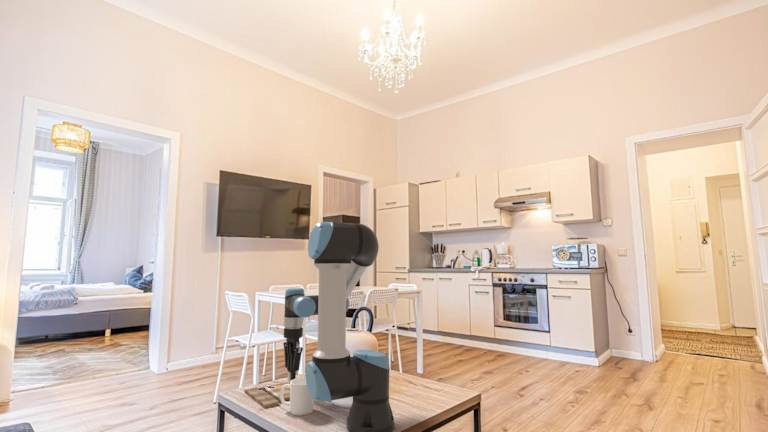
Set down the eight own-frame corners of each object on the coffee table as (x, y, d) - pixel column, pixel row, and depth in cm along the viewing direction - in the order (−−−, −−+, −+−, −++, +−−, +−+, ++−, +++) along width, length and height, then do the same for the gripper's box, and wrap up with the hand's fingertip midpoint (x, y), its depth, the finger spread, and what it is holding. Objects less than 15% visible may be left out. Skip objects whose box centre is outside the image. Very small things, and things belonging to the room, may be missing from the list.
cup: (310, 416, 133) (311, 385, 134) (275, 415, 134) (276, 384, 135) (316, 407, 141) (316, 377, 142) (283, 405, 142) (284, 376, 143)
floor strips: (278, 404, 143) (278, 401, 143) (264, 408, 140) (264, 404, 140) (258, 389, 158) (258, 386, 159) (244, 392, 155) (244, 389, 155)
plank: (303, 395, 151) (303, 391, 151) (279, 402, 145) (279, 398, 145) (286, 384, 164) (286, 381, 164) (262, 390, 158) (262, 386, 158)
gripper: (309, 328, 155) (307, 390, 153) (294, 323, 165) (292, 381, 163) (291, 330, 151) (289, 394, 149) (278, 325, 161) (275, 385, 159)
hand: (291, 387), depth 156 cm, fingers closed
